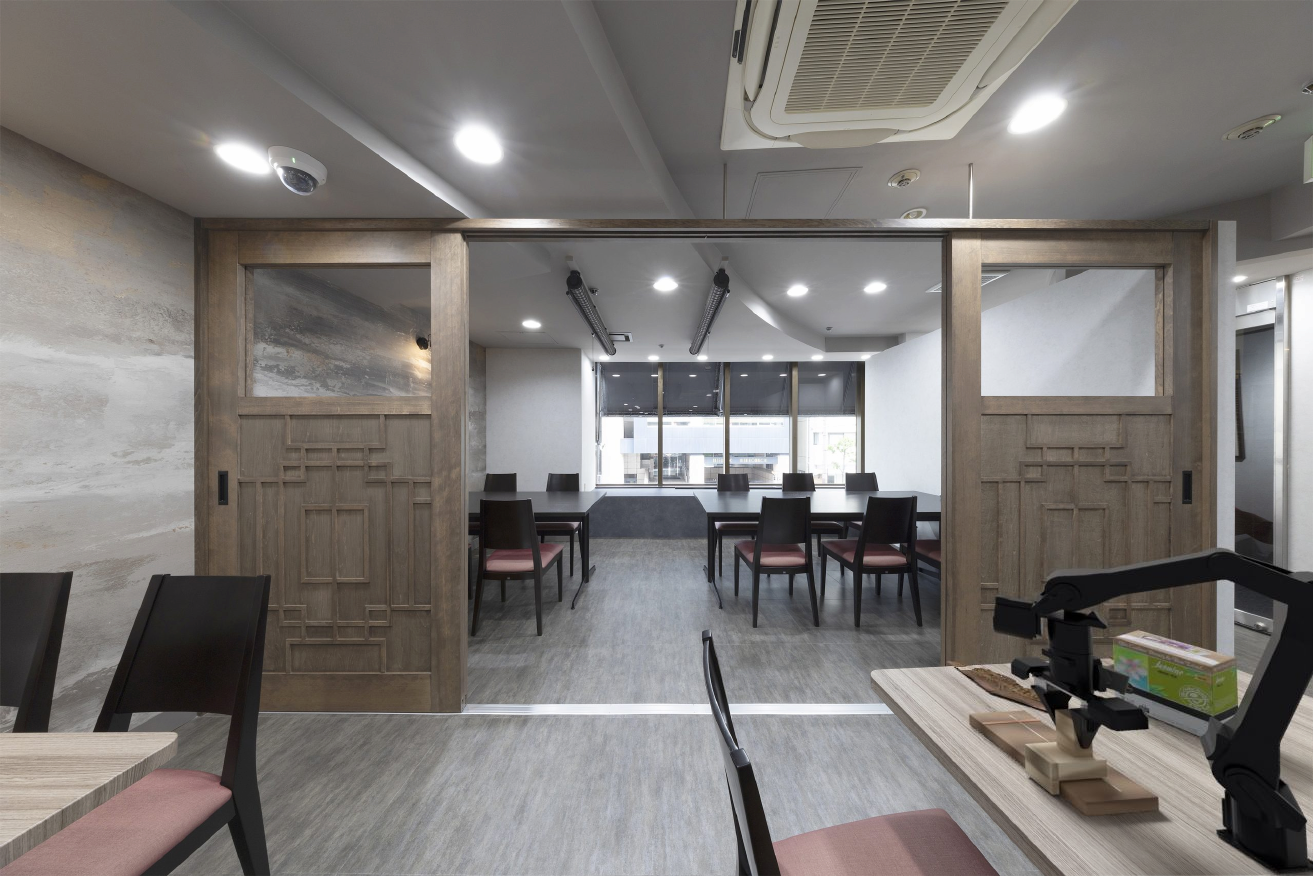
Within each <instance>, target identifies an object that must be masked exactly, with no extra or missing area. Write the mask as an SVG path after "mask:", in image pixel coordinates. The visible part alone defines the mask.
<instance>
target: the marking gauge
mask: <svg viewBox="0 0 1313 876" xmlns="http://www.w3.org/2000/svg"><path fill="white" fill-rule="evenodd" d="M1055 718H1056V726H1055V731H1056V742H1048V743H1033V744H1025V767H1024V769H1025V774H1026V775H1027V776H1029V777H1030V778H1031V779H1032V780H1034V782H1036V783H1037V784H1038V785H1039V786H1041V787H1042V788H1043V789H1045V790H1046V791H1047V792H1049V793H1050V794H1051V795H1052V796H1053V795H1059V781H1063V780H1077V779H1090V778H1104V777H1107V764H1108V763H1107V759H1106V758H1105V757H1103V756H1102V755H1100V754H1099V753H1097V752H1095V751H1093V748H1094V747H1093V742H1092V743H1091V745H1090V747H1089V749H1082V748H1081V747H1080V745H1079V742H1078V739H1077V736H1076V732H1075V728H1074V725H1073V721H1072V717H1071V714H1070V710H1069V709H1061V710H1055Z"/></svg>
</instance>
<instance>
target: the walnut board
mask: <svg viewBox="0 0 1313 876" xmlns="http://www.w3.org/2000/svg"><path fill="white" fill-rule="evenodd" d="M968 719H969V720H968V721H969V725H970V726H972V727H973V728H974V729H975V730H977V732H979V733H980V734H982V735H983V736H984V737H986V738H987V739H988V740H989V741H991V742H992V743H993V744H995V745H996V746H997V747H998V748H1000V750H1002V751H1003V752H1004V753H1006V754H1007V755H1009V756H1010V757H1011V759H1014V760H1015V761H1016V762H1017V763H1019V764H1020V765H1021V766H1023V768H1025V744H1033V743H1048V742H1056V729H1054V728H1052V727H1051V726H1049V725H1048V724H1047V723H1044V722H1043V721H1042V720H1041V719H1039V718H1037V717H1036V716H1033V715H1032V714H1031V713H1029V712H1028V711H1027V710H1011V711H1009V710H1008V711H1007V710H1006V711H996V712H995V711H993V712H978V713H977V712H976V713H969V714H968ZM1058 795H1059V796H1061V797H1062V798H1063V799H1065V800H1066V801H1067V802H1068V803H1069V804H1071V805H1072V806H1073V807H1075V809H1077V810H1078V811H1080V812H1081V813H1082V814H1084V816H1086V817H1092V816H1106V815H1116V814H1128V813H1129V814H1130V813H1141V812H1152V811H1160V803H1159V800H1160V799H1159V796H1158V795H1156V794H1154V793H1153V792H1152V791H1150V790H1149V789H1146V788H1145V787H1144V786H1142V785H1141V784H1140V783H1137V782H1136V781H1135V780H1132V779H1131V778H1129V776H1127V775H1125V774H1124V773H1122V772H1121V771H1119V770H1117V769H1116V768H1114V767H1112V766H1111V765H1109V764H1108V763H1107V777H1104V778H1090V779H1077V780H1063V781H1059V794H1058Z"/></svg>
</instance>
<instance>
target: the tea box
mask: <svg viewBox="0 0 1313 876" xmlns="http://www.w3.org/2000/svg"><path fill="white" fill-rule="evenodd" d="M1112 638H1113V643H1112V644H1113V645H1112V646H1113V649H1112V650H1113V656H1114V661H1113V664H1114V670H1116V671H1118V672H1120V673H1123V674H1125V675H1127V676H1129V677H1130V678H1129V682H1128V685H1127V689H1126V693H1125V695H1122V694H1120V693H1119V692H1117V691H1114V697H1119V698H1121V699H1123V700H1125V701H1127V702H1129V703H1131V704H1133V705H1135V706H1137V707H1139V708H1141V709H1142V710H1143V711H1144V712H1145V713H1146V714H1147V715H1148V717H1149V716H1150V717H1152V718H1155V719H1156V720H1159V721H1161V722H1164V723H1166V724H1169V725H1171V726H1174V727H1176V728H1178V729H1181V730H1183V731H1185V732H1188V733H1190V734H1193V735H1195V736H1198V737H1199V738H1200V736H1202V735H1204V734H1205V733H1206V731H1207V729H1208V724H1209V718H1210V717H1213V718H1215V719H1216V720H1218V721H1220V722H1222V723H1225V722H1226V721H1228V720H1229V719H1231V718H1232V717H1233V716H1234V715H1235V714H1236V712H1237V710H1238V707H1239V694H1238V693H1239V692H1238V667H1237V666H1238V665H1237V664H1238V663H1237V657H1235V656H1231V655H1227V654H1225V653H1221V652H1217V651H1214V650H1211V649H1210V650H1209V649H1207V648H1202V647H1199V646H1196V645H1192V644H1189V643H1186V642H1182V641H1178V640H1174V639H1172V638H1168V637H1164V636H1160V635H1157V634H1153V633H1151V632H1146V631H1142V630H1138V629H1137V630H1135V631H1131V632H1128V633H1125V634H1120V635H1117V636H1113V637H1112Z"/></svg>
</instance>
